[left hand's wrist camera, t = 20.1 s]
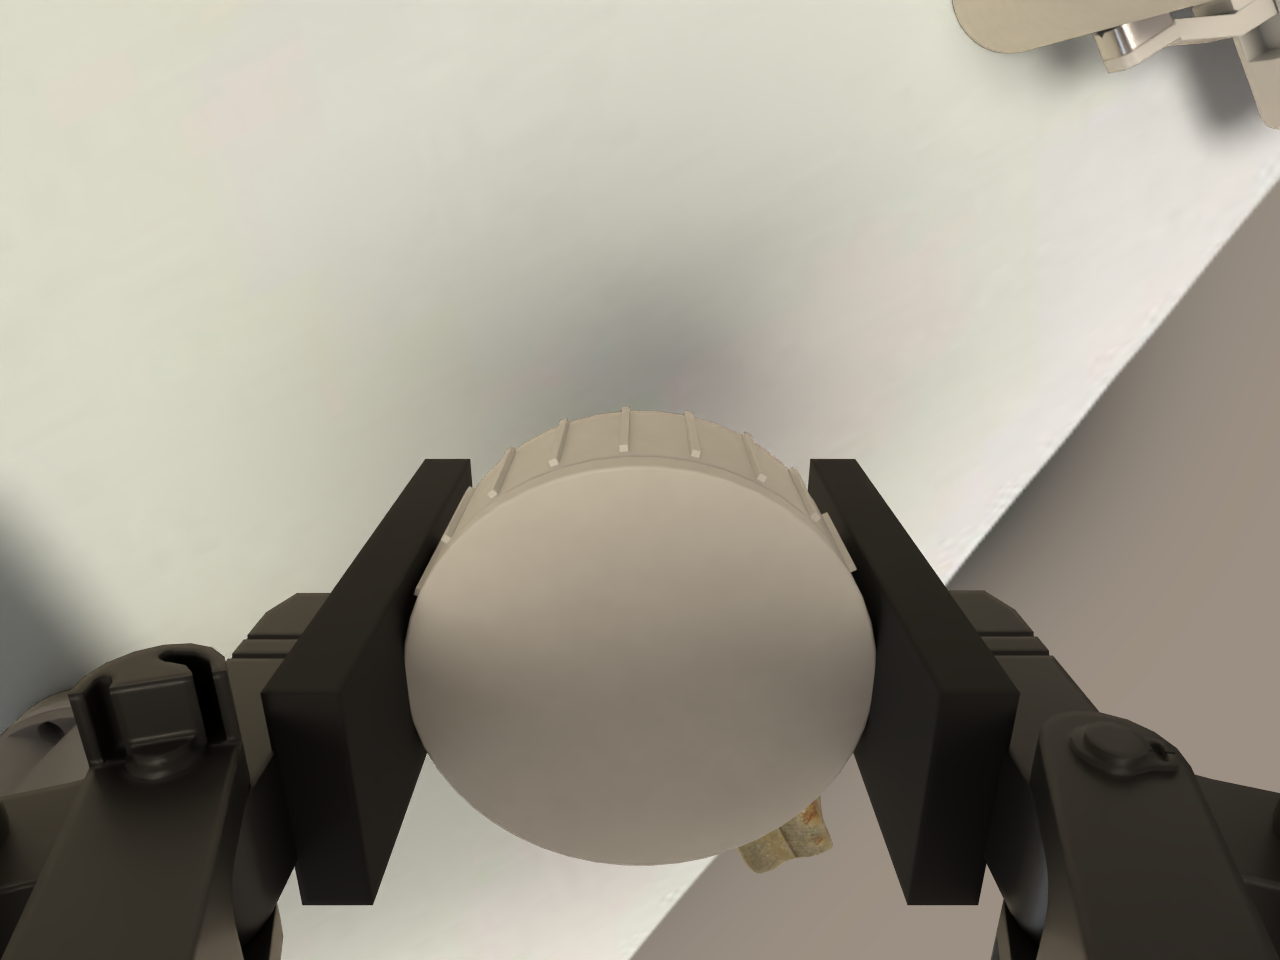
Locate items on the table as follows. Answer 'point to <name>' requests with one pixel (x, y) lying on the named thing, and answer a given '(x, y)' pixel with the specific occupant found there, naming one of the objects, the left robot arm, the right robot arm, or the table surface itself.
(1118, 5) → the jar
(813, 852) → the sculpture
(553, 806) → the lid
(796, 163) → the table surface
